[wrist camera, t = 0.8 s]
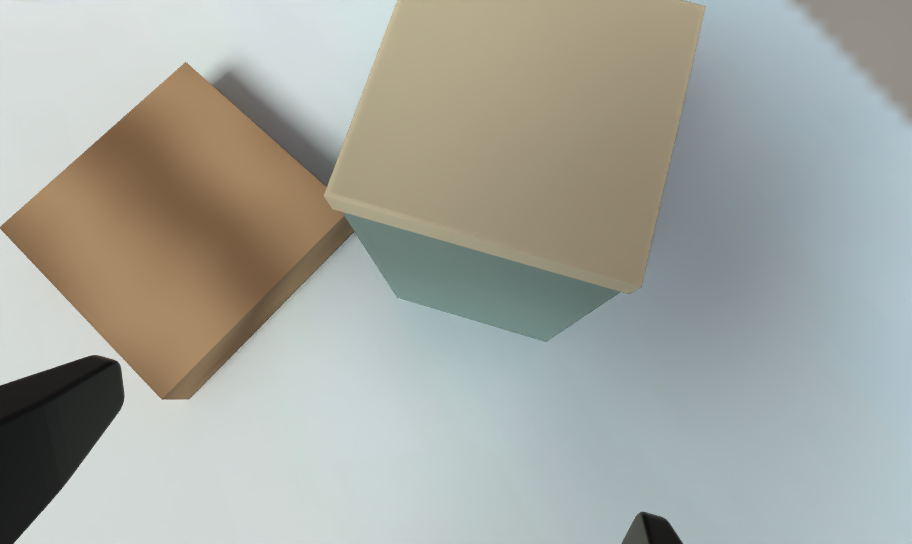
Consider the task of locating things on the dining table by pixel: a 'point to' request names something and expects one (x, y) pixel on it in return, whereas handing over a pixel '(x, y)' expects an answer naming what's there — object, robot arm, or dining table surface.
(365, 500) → the dining table surface
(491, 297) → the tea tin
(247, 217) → the block
